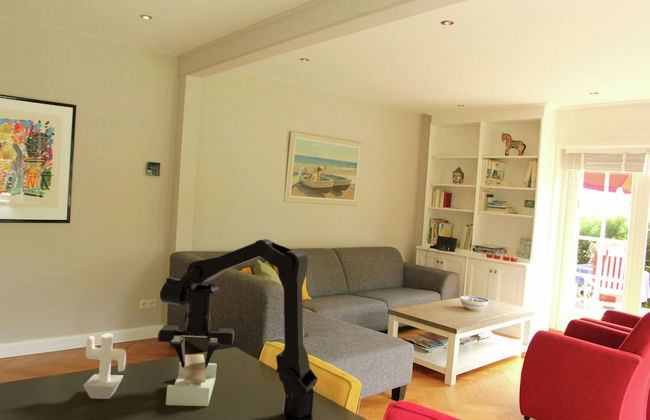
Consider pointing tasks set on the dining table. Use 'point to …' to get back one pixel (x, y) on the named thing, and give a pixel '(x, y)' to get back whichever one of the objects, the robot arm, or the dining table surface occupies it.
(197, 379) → the beige tapered block
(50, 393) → the dining table surface
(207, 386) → the pale green pegged panel
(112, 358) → the figurine
